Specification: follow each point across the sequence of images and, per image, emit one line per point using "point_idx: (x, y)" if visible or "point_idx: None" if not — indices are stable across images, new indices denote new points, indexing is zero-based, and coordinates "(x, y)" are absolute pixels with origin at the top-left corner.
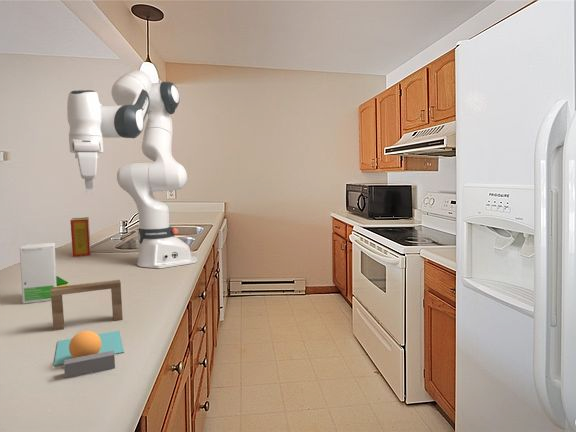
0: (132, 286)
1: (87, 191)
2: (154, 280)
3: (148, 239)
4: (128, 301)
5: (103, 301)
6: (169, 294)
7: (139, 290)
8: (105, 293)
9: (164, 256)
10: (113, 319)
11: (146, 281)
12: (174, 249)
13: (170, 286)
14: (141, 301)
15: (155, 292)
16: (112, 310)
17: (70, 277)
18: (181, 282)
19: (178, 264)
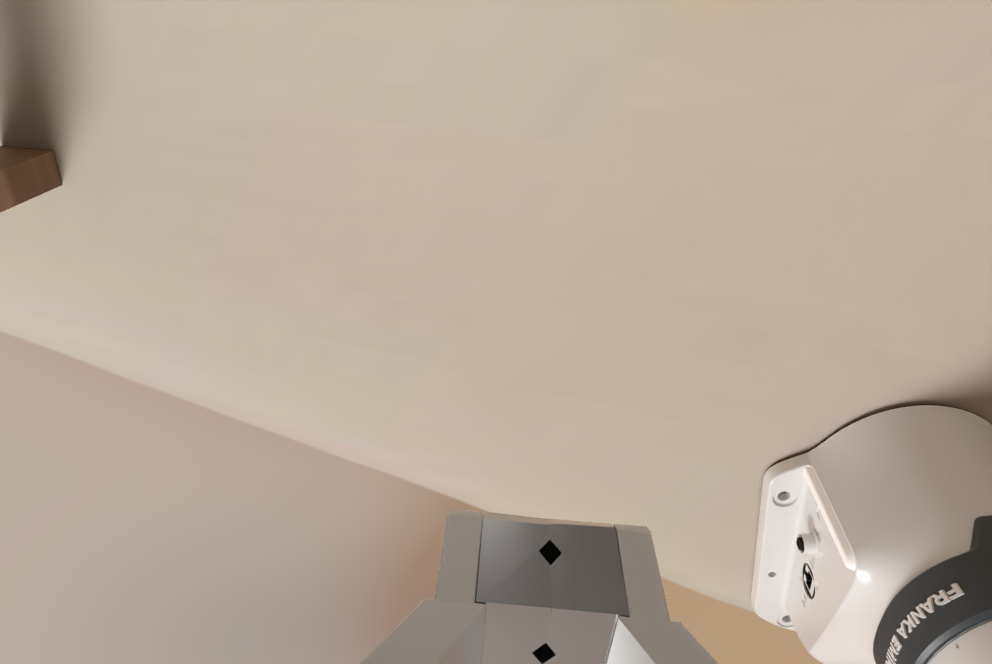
0: (502, 302)
1: (442, 558)
2: (553, 402)
3: (928, 567)
4: (257, 243)
5: (303, 145)
6: (291, 397)
7: (413, 314)
8: (442, 172)
9: (803, 538)
10: (2, 147)
11: (557, 371)
12: (820, 606)
13: (410, 428)
14: (235, 288)
15: (346, 361)
16: (32, 158)
17: (972, 19)
18: (450, 476)
19: (758, 549)
